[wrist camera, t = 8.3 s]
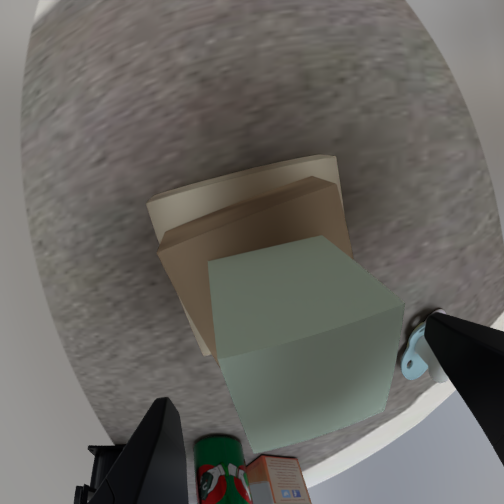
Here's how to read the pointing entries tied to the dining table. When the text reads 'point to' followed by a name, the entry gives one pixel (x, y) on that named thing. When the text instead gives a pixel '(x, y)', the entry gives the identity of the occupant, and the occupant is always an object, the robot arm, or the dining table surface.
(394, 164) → the dining table surface
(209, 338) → the top slab
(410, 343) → the pacifier
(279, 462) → the cracker box
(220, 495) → the soda can
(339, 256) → the sage block
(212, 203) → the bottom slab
